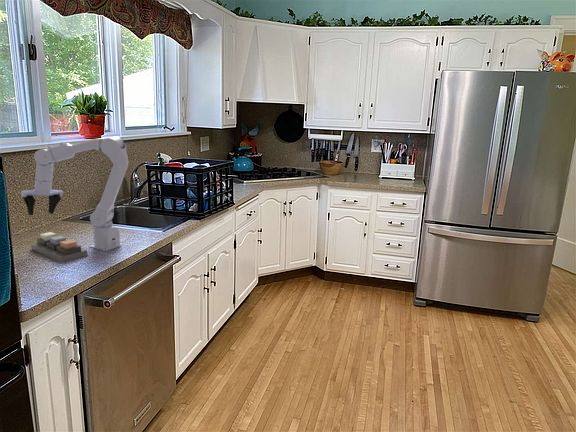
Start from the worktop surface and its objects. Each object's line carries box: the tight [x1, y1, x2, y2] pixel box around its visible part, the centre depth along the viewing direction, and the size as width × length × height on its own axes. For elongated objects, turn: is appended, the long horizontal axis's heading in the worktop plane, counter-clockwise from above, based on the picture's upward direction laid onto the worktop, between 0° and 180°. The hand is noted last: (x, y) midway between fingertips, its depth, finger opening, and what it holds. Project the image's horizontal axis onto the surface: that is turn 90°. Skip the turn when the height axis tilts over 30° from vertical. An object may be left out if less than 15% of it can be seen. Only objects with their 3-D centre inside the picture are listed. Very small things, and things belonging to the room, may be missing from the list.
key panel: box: [30, 237, 88, 263], centre depth 159 cm, size 22×10×4 cm, turn 54°
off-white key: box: [39, 231, 57, 241], centre depth 163 cm, size 4×4×2 cm
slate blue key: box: [50, 235, 67, 245], centre depth 158 cm, size 4×4×2 cm
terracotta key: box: [60, 239, 78, 249], centre depth 154 cm, size 4×4×2 cm
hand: (40, 213), depth 163 cm, fingers open, 7 cm apart
